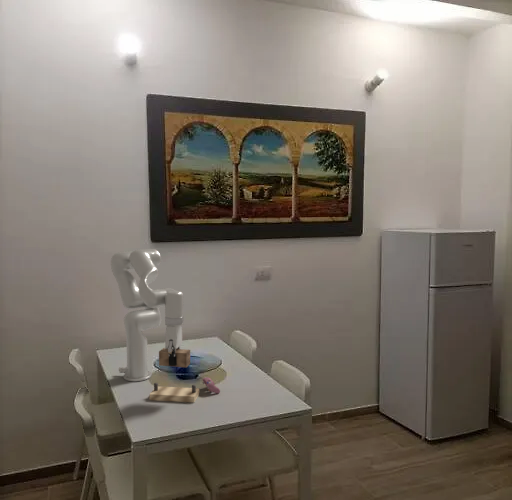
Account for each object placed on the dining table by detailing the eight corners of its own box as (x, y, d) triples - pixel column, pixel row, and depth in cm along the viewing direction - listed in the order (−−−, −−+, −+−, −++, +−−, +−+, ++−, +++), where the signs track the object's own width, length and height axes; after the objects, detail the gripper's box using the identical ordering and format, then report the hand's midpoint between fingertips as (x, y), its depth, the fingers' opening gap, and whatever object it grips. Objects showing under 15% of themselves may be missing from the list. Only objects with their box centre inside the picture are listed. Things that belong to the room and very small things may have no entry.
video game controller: (206, 390, 214) (199, 377, 213) (214, 384, 216) (208, 371, 214) (212, 398, 205) (205, 385, 203) (221, 392, 206) (214, 379, 205)
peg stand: (149, 400, 199) (149, 387, 198) (156, 391, 208) (156, 379, 207) (194, 402, 197) (194, 389, 196) (199, 393, 206) (199, 381, 205)
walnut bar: (159, 365, 200) (158, 351, 199) (163, 361, 205) (163, 348, 204) (186, 367, 198) (186, 353, 197) (190, 363, 202) (190, 349, 202)
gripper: (171, 315, 208) (171, 356, 210) (159, 325, 191) (159, 369, 193) (188, 316, 208) (188, 357, 209) (177, 326, 191) (177, 370, 192)
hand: (174, 362), depth 201 cm, fingers closed on walnut bar, 5 cm apart
